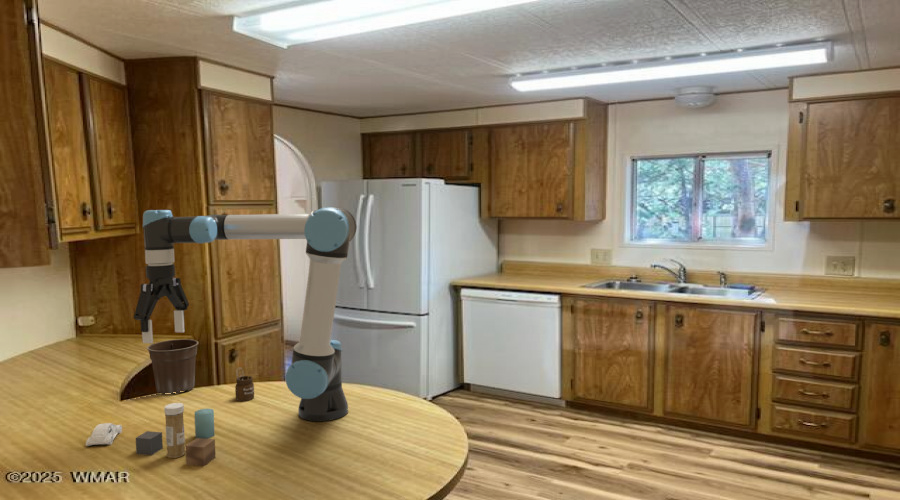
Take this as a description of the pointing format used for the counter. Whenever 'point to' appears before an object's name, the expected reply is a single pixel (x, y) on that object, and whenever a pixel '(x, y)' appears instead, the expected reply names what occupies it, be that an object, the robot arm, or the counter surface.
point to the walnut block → (200, 452)
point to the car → (104, 434)
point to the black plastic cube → (149, 443)
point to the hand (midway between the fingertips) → (164, 337)
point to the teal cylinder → (204, 423)
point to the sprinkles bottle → (174, 430)
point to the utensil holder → (244, 386)
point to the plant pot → (174, 365)
